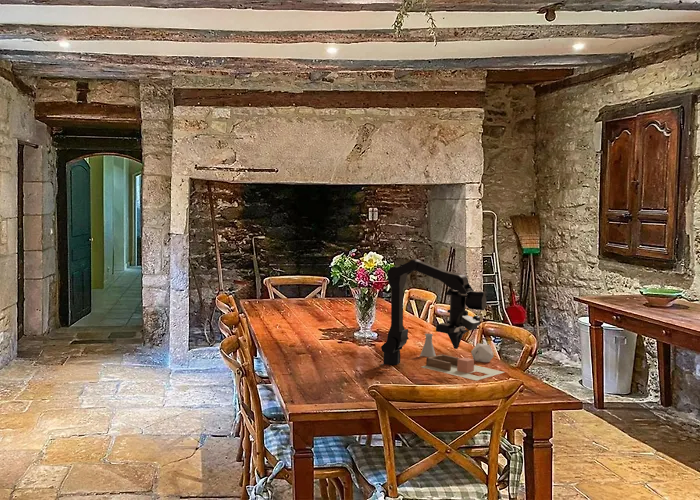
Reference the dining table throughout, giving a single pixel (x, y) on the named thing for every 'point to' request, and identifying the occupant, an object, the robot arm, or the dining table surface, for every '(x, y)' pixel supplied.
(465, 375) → the board
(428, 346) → the flask
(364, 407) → the dining table surface
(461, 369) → the block
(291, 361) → the dining table surface
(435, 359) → the cubby
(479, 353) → the die
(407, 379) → the dining table surface
